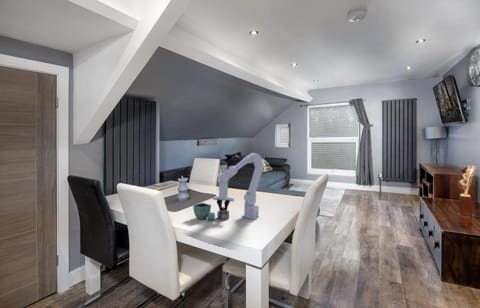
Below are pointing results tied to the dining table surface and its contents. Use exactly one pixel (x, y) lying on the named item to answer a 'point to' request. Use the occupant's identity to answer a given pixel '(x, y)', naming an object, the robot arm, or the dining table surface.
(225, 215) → the press pot
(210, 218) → the teal rounded part
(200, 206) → the flower pot
